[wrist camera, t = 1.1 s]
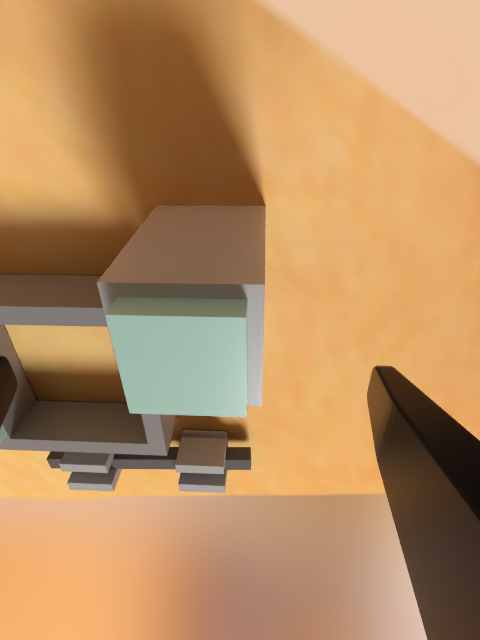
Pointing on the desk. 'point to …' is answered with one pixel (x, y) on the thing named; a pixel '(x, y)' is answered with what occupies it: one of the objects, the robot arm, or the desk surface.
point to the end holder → (66, 416)
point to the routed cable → (160, 463)
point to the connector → (190, 310)
